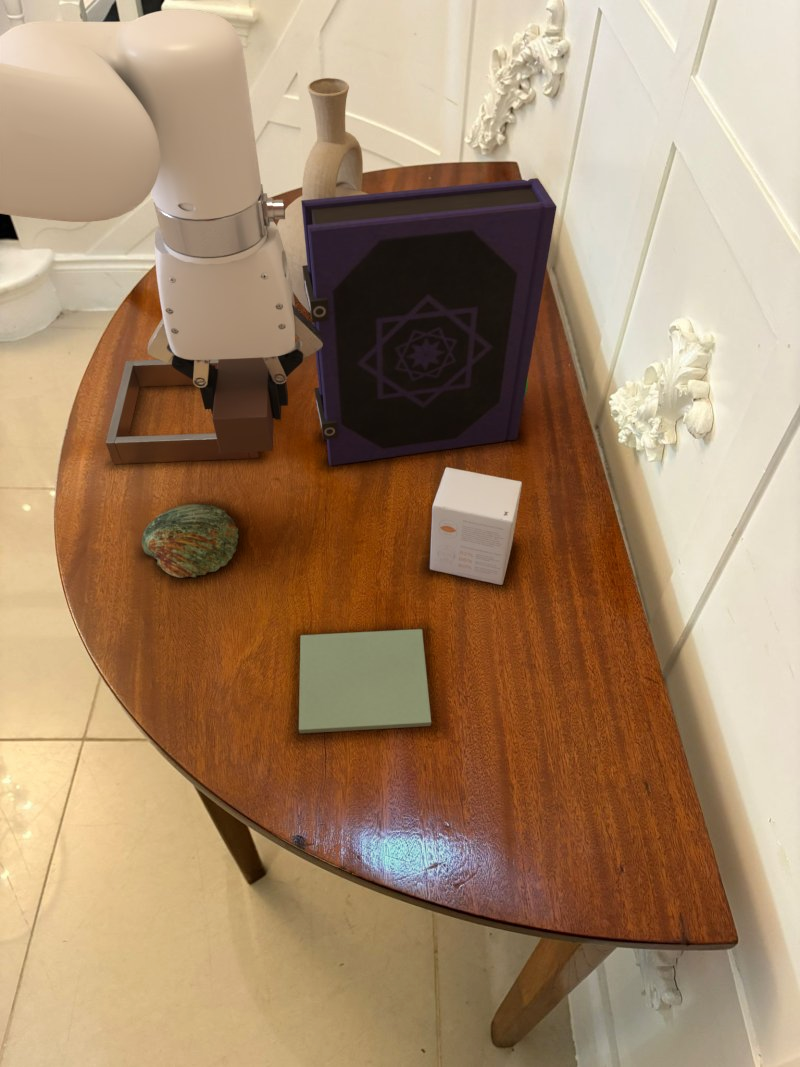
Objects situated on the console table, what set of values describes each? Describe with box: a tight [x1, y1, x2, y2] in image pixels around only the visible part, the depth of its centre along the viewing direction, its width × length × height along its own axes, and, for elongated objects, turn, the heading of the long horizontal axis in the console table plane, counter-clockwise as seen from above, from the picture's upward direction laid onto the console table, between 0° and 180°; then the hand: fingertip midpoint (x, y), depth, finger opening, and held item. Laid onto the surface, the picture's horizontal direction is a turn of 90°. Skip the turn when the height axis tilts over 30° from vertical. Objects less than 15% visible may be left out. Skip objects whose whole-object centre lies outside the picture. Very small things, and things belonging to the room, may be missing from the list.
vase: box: [276, 77, 368, 313], centre depth 100 cm, size 17×17×30 cm
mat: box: [298, 628, 432, 734], centre depth 74 cm, size 12×10×1 cm
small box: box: [429, 466, 523, 586], centre depth 79 cm, size 8×6×10 cm
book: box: [301, 177, 558, 467], centre depth 83 cm, size 24×6×30 cm, turn 102°
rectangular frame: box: [105, 359, 260, 465], centre depth 96 cm, size 17×15×4 cm
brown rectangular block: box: [211, 357, 275, 454], centre depth 68 cm, size 4×10×4 cm, turn 5°
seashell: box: [141, 503, 240, 579], centre depth 83 cm, size 10×4×10 cm
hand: (248, 409), depth 69 cm, fingers closed on brown rectangular block, 4 cm apart
